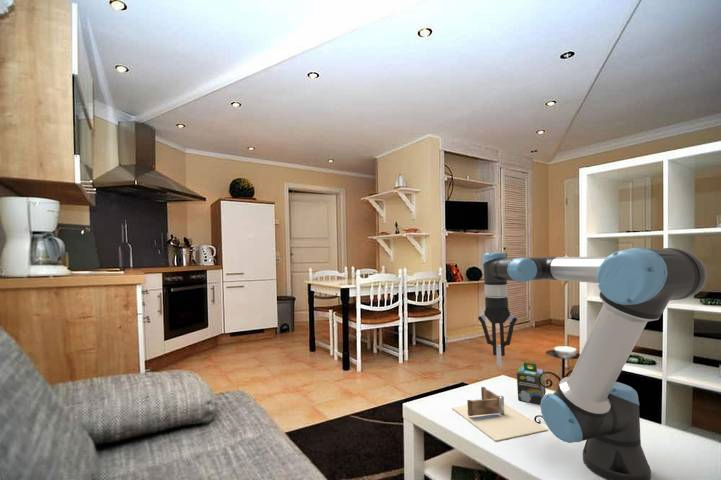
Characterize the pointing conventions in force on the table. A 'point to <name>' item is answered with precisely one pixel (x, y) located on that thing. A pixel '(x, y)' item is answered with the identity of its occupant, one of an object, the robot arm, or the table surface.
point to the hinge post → (501, 405)
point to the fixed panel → (488, 394)
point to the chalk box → (530, 384)
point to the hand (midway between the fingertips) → (499, 364)
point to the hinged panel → (483, 407)
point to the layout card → (502, 423)
